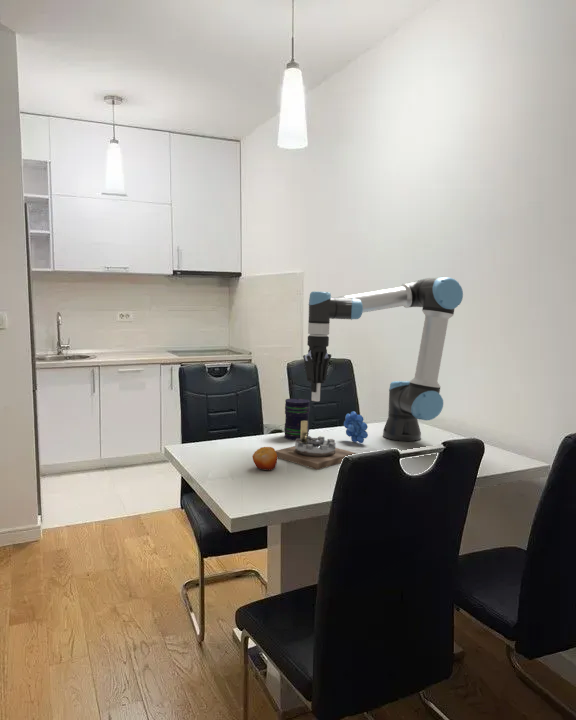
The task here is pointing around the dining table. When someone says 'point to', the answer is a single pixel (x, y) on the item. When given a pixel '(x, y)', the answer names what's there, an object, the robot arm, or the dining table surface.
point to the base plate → (313, 458)
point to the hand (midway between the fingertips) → (315, 400)
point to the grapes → (355, 427)
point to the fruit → (265, 458)
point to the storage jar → (295, 417)
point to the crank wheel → (313, 444)
